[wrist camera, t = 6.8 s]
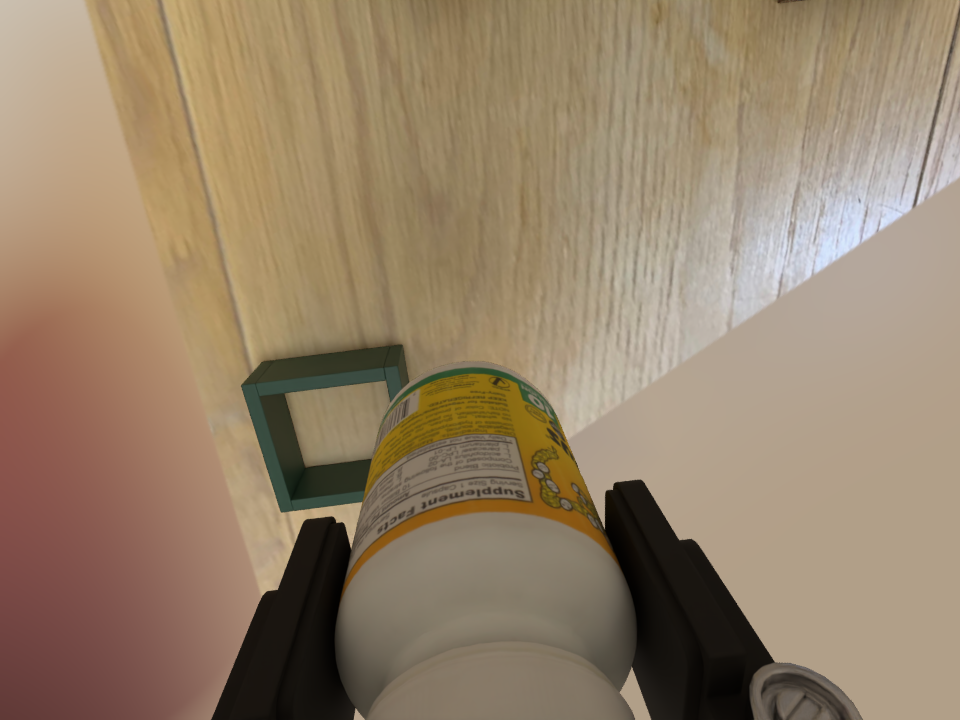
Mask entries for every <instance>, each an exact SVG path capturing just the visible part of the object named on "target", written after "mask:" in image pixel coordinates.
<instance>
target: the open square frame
mask: <svg viewBox="0 0 960 720" xmlns="http://www.w3.org/2000/svg"><path fill="white" fill-rule="evenodd" d="M385 380H386V382H387V387H388V392H389V397H390V402H392V400H393V399H394V398H395V396H396V395H397V394H398V393H399V392H400V391H401V390H402V389H403V388H404V387H405V386H406V385H407V384H408V383H409V378H408V373H407V367H406V361H405V355H404V350H403V345H394V346H390V347H389V346H386V347H378V348H370V349H362V350H354V351H346V352H337V353H329V354H321V355H313V356H305V357H297V358H289V359H281V360H275V361H274V360H273V361H265V362H262V363H261V364H260V365H259V366H258V367H257V368H256V369H255V370H254V372H253V373H252V374H251V375H250V376H249V377H248V378H247V379H246V380H245V382H244V383H243V384H242V385H241V387H242V390H243V393H244V397H245V400H246V403H247V406H248V409H249V413H250V416H251V419H252V422H253V425H254V429H255V432H256V435H257V438H258V441H259V444H260V448H261V451H262V454H263V457H264V460H265V464H266V467H267V470H268V473H269V476H270V479H271V483H272V486H273V489H274V492H275V495H276V499H277V502H278V505H279V508H280V511H281V512H289V511H297V510H305V509H312V508H320V507H328V506H335V505H343V504H350V503H358V502H363V498H364V493H365V489H366V484H367V479H368V475H369V471H370V465H371V460H372V459H371V460H363V461H355V462H348V463H340V464H332V465H325V466H317V467H309V468H305V467H304V463H303V460H302V456H301V452H300V449H299V445H298V442H297V438H296V435H295V431H294V427H293V424H292V420H291V417H290V413H289V410H288V406H287V402H286V399H285V395H284V393H289V392H297V391H305V390H313V389H321V388H329V387H337V386H345V385H353V384H361V383H369V382H377V381H385Z"/></svg>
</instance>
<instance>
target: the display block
mask: <svg viewBox="0 0 960 720" xmlns="http://www.w3.org/2000/svg"><path fill="white" fill-rule="evenodd" d="M793 1H802V0H778V2H779V3H783V2H793Z"/></svg>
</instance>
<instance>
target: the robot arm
mask: <svg viewBox="0 0 960 720" xmlns="http://www.w3.org/2000/svg"><path fill="white" fill-rule="evenodd" d="M605 532H606V534H607V536H608V538H609V541H610V543H611V545H612V547H613V550H614V552H615V555H616V557H617V559H618V562H619V564H620V567H621V569H622V572H623V574H624V577H625V579H626V582H627V584H628V586H629V589H630V592H631V595H632V599H633V603H634V607H635V612H636V619H637V644H636V650H635V655H634V659H633V663H632V668H633V671H634V673H635V676H636V679H637V681H638V684H639V687H640V690H641V692H642V695H643V698H644V701H645V703H646V706H647V709H648V711H649V714H650V717H651V720H863V719H862V717H861V715H860V714H859V712H858V710H857V708H856V707H855V705H854V703H853V702H852V701H851V700H850V699H849V698H848V697H847V696H846V695H845V693H844V692H843V691H842V690H841V689H840V688H839V687H837V686H836V685H835V684H833V683H832V682H831V681H829V680H828V679H827V678H826V677H824V676H822V675H820V674H818V673H816V672H814V671H812V670H810V669H808V668H806V667H802V666H799V665H796V664H792V663H775V662H774V660H773V659H772V657H771V656H770V654H769V652H768V651H767V649H766V648H765V646H764V645H763V643H762V642H761V640H760V639H759V637H758V636H757V634H756V633H755V631H754V629H753V628H752V626H751V625H750V623H749V622H748V620H747V619H746V617H745V616H744V614H743V613H742V611H741V609H740V608H739V607H738V605H737V603H736V602H735V600H734V599H733V597H732V596H731V594H730V592H729V591H728V589H727V588H726V586H725V585H724V583H723V582H722V580H721V579H720V577H719V575H718V574H717V572H716V571H715V569H714V568H713V566H712V565H711V563H710V562H709V560H708V559H707V557H706V556H705V554H704V553H703V551H702V550H701V548H700V547H699V545H698V544H697V543H696V542H695V541H694V540H692V539H687V540H679V539H678V538H677V536H676V534H675V533H674V531H673V530H672V528H671V526H670V525H669V523H668V521H667V520H666V518H665V516H664V515H663V513H662V511H661V510H660V508H659V506H658V505H657V503H656V501H655V500H654V498H653V496H652V495H651V493H650V492H649V490H648V488H647V487H646V485H645V483H644V482H643V481H642V480H632V481H624V482H616V483H614V486H613V490H607V491H606V493H605ZM350 554H351V547H350V543H349V539H348V535H347V531H346V527H345V524H344V523H343V522H341V523H336V520H335V518H334V517H332V516H331V517H323V518H315V519H306V520H305V521H304V522H303V524H302V527H301V530H300V532H299V535H298V538H297V540H296V543H295V545H294V548H293V551H292V553H291V556H290V559H289V561H288V564H287V567H286V569H285V572H284V575H283V577H282V580H281V582H280V585H279V588H278V590H273V591H267V592H266V593H265V594H264V595H263V596H262V598H261V600H260V602H259V604H258V607H257V609H256V612H255V614H254V617H253V619H252V621H251V624H250V626H249V629H248V631H247V634H246V636H245V639H244V641H243V644H242V646H241V648H240V651H239V654H238V656H237V658H236V661H235V663H234V666H233V668H232V670H231V673H230V675H229V678H228V680H227V683H226V685H225V688H224V690H223V692H222V695H221V697H220V700H219V702H218V705H217V707H216V710H215V712H214V714H213V717H212V719H211V720H354V713H355V706H354V705H353V703H352V702H351V700H350V698H349V697H348V695H347V693H346V691H345V688H344V686H343V684H342V682H341V679H340V675H339V672H338V668H337V663H336V657H335V643H334V638H335V626H336V619H337V614H338V609H339V603H340V598H341V593H342V589H343V584H344V580H345V576H346V572H347V568H348V563H349V558H350Z"/></svg>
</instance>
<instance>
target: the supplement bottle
mask: <svg viewBox="0 0 960 720" xmlns="http://www.w3.org/2000/svg"><path fill="white" fill-rule="evenodd" d="M334 643H335V657H336V663H337V668H338V672H339V675H340V679H341V682H342V684H343V686H344V688H345V691H346V693H347V695H348V697H349V698H350V700H351V702H352V703H353V705H354V706H355V708H356V709H357V710H358V712H359V713H360V714H361V715H362V716H363V718H364V719H365V720H635V718H634V715H633V712H632V711H631V709H630V707H629V705H628V704H627V702H626V701H625V699H624V698H623V697H622V696H621V694H620V693H619V692H620V691H621V689H622V687H623V685H624V683H625V681H626V679H627V677H628V675H629V672H630V670H631V667H632V663H633V659H634V655H635V650H636V644H637V619H636V612H635V607H634V603H633V599H632V595H631V592H630V589H629V586H628V584H627V582H626V579H625V577H624V574H623V572H622V569H621V567H620V564H619V562H618V559H617V557H616V555H615V552H614V550H613V547H612V545H611V543H610V541H609V538H608V536H607V534H606V532H605V529H604V527H603V525H602V522H601V520H600V518H599V516H598V513H597V511H596V508H595V506H594V503H593V501H592V499H591V496H590V494H589V492H588V489H587V486H586V484H585V482H584V479H583V477H582V476H581V474H580V471H579V468H578V465H577V463H576V461H575V458H574V456H573V454H572V451H571V449H570V447H569V445H568V442H567V439H566V437H565V434H564V432H563V429H562V427H561V425H560V422H559V420H558V418H557V415H556V414H555V412H554V410H553V408H552V406H551V404H550V403H549V401H548V400H547V399H546V397H545V396H544V395H543V394H542V393H541V392H540V391H539V390H538V389H537V388H536V387H535V386H534V385H532V384H531V383H530V382H529V381H528V380H526V379H525V378H524V377H522V376H521V375H519V374H518V373H516V372H514V371H512V370H510V369H508V368H506V367H503V366H501V365H497V364H494V363H489V362H484V361H463V362H456V363H451V364H447V365H443V366H439V367H436V368H433V369H431V370H429V371H427V372H425V373H423V374H421V375H420V376H418V377H417V378H415V379H414V380H412V381H411V382H409V383H408V384H407V385H406V386H405V387H404V388H403V389H402V390H401V391H400V392H399V393H398V394H397V395H396V396H395V398H394V399H393V400H392V402H391V403H390V405H389V406H388V408H387V410H386V412H385V414H384V416H383V419H382V422H381V425H380V428H379V432H378V435H377V439H376V443H375V448H374V452H373V455H372V460H371V465H370V471H369V475H368V479H367V484H366V489H365V493H364V498H363V502H362V507H361V511H360V515H359V520H358V523H357V527H356V532H355V536H354V541H353V545H352V549H351V554H350V558H349V563H348V568H347V572H346V576H345V580H344V584H343V589H342V593H341V598H340V603H339V609H338V614H337V619H336V626H335V638H334Z"/></svg>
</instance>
